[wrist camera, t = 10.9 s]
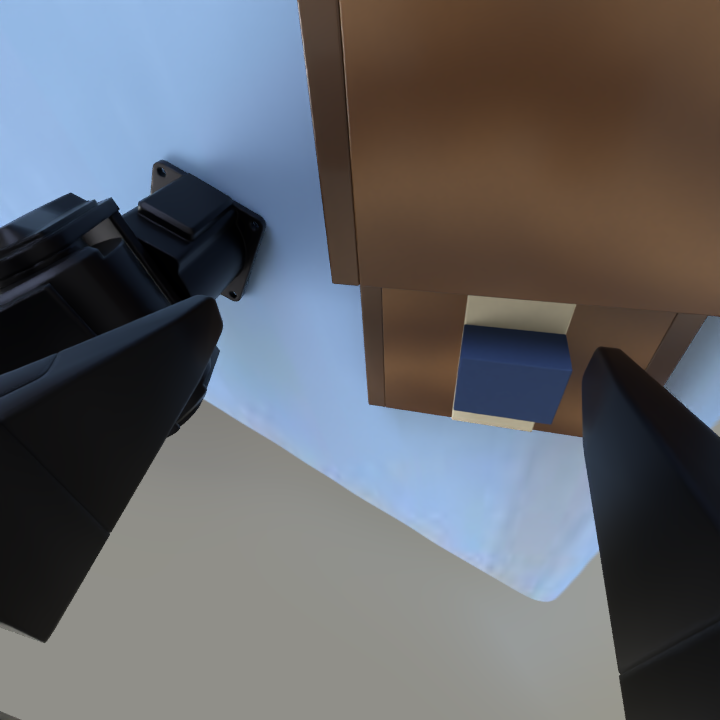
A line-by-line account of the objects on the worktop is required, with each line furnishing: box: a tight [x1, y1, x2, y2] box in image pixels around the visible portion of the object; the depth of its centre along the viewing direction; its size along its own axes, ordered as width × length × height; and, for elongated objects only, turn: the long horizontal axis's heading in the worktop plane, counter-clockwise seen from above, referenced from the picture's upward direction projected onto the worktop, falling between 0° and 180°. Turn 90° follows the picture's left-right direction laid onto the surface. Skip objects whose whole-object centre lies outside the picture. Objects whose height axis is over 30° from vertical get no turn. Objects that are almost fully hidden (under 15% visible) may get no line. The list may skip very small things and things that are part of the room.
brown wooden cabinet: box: [297, 0, 720, 437], centre depth 17 cm, size 24×16×6 cm, turn 4°
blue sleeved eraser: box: [452, 295, 576, 432], centre depth 21 cm, size 9×5×4 cm, turn 4°
